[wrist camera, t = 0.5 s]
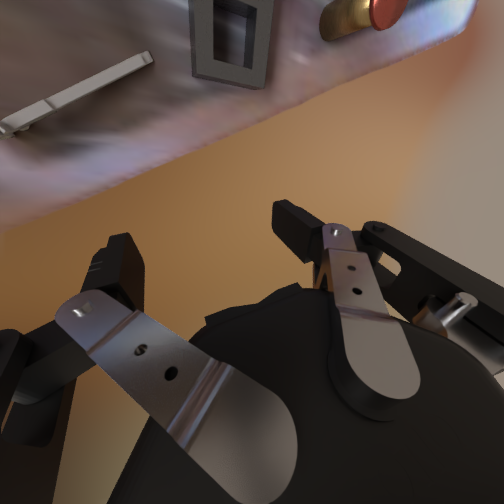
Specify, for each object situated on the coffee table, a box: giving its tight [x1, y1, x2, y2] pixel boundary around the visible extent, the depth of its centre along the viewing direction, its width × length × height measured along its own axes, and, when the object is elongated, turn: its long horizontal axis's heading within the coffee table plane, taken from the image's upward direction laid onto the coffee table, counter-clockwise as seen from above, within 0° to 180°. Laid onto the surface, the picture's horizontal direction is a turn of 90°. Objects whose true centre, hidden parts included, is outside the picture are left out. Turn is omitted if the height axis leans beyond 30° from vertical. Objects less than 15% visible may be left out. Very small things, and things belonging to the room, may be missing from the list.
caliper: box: [0, 51, 153, 140], centre depth 22 cm, size 20×1×6 cm, turn 113°
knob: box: [319, 0, 408, 41], centre depth 26 cm, size 6×6×11 cm
